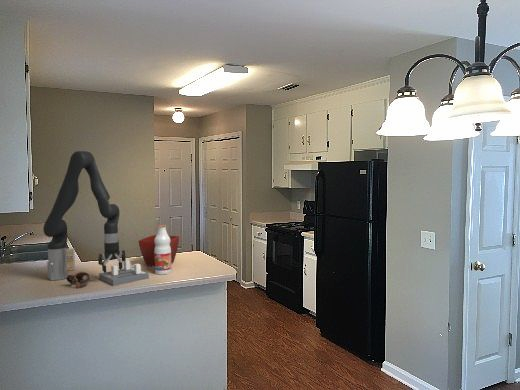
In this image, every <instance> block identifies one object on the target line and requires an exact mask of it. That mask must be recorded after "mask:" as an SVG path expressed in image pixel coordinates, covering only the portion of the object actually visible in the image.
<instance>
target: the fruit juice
mask: <svg viewBox="0 0 520 390" xmlns="http://www.w3.org/2000/svg"><path fill="white" fill-rule="evenodd" d="M167 231H168V230H167V224H158V225H157V233H156V237H155V239H154V242H155V249H154V254H155V267H154V271H155V274H156V275H161V276H163V275H169V274H171V273H172V269H173V268H172V267H173V266H172V263H171V247H170V237H169V236H170V235H169V234H168V232H167Z"/></svg>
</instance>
